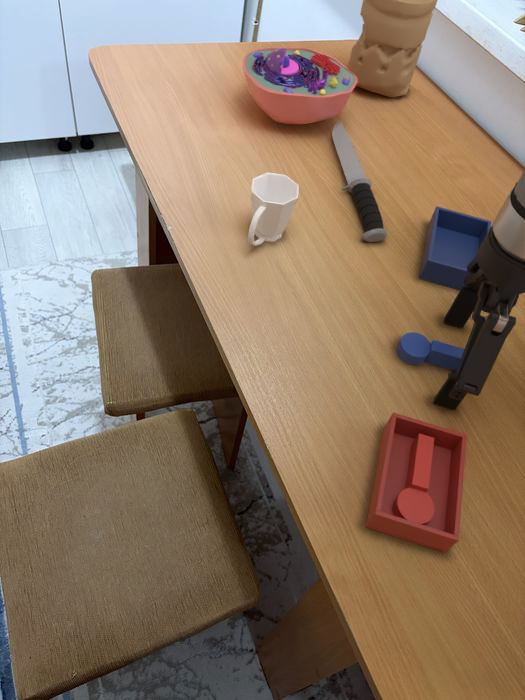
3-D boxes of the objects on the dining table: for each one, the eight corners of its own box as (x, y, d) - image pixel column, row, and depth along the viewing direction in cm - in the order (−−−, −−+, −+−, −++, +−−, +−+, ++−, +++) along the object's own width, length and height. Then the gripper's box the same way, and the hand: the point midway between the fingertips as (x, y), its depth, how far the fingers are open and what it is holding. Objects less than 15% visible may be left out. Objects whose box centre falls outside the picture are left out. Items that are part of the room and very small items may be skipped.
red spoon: (402, 440, 67) (409, 430, 65) (436, 451, 67) (444, 440, 65) (389, 523, 61) (397, 514, 59) (427, 534, 61) (435, 526, 59)
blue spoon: (474, 359, 77) (482, 347, 75) (472, 383, 74) (481, 371, 72) (398, 336, 77) (404, 324, 75) (394, 359, 75) (400, 347, 73)
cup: (299, 227, 88) (308, 183, 82) (269, 267, 82) (277, 223, 76) (258, 210, 89) (264, 165, 83) (226, 248, 84) (230, 203, 77)
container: (377, 64, 121) (404, -33, 107) (419, 94, 116) (453, -4, 101) (331, 77, 116) (353, -23, 101) (373, 109, 110) (402, 8, 96)
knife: (358, 247, 88) (391, 242, 88) (360, 233, 86) (393, 228, 86) (317, 129, 104) (344, 126, 105) (318, 115, 102) (346, 111, 102)
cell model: (343, 152, 101) (359, 90, 92) (229, 130, 101) (234, 66, 92) (350, 101, 111) (365, 40, 102) (246, 81, 111) (252, 18, 102)
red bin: (445, 552, 61) (458, 540, 58) (365, 527, 61) (375, 514, 58) (454, 449, 68) (467, 434, 65) (383, 428, 69) (392, 412, 66)
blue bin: (477, 294, 84) (487, 277, 81) (419, 278, 84) (427, 260, 82) (481, 239, 91) (491, 221, 88) (428, 224, 92) (436, 206, 89)
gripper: (569, 344, 51) (471, 453, 68) (560, 178, 66) (482, 301, 83) (484, 320, 52) (408, 434, 68) (495, 160, 66) (430, 286, 83)
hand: (448, 361), depth 76 cm, fingers open, 13 cm apart
